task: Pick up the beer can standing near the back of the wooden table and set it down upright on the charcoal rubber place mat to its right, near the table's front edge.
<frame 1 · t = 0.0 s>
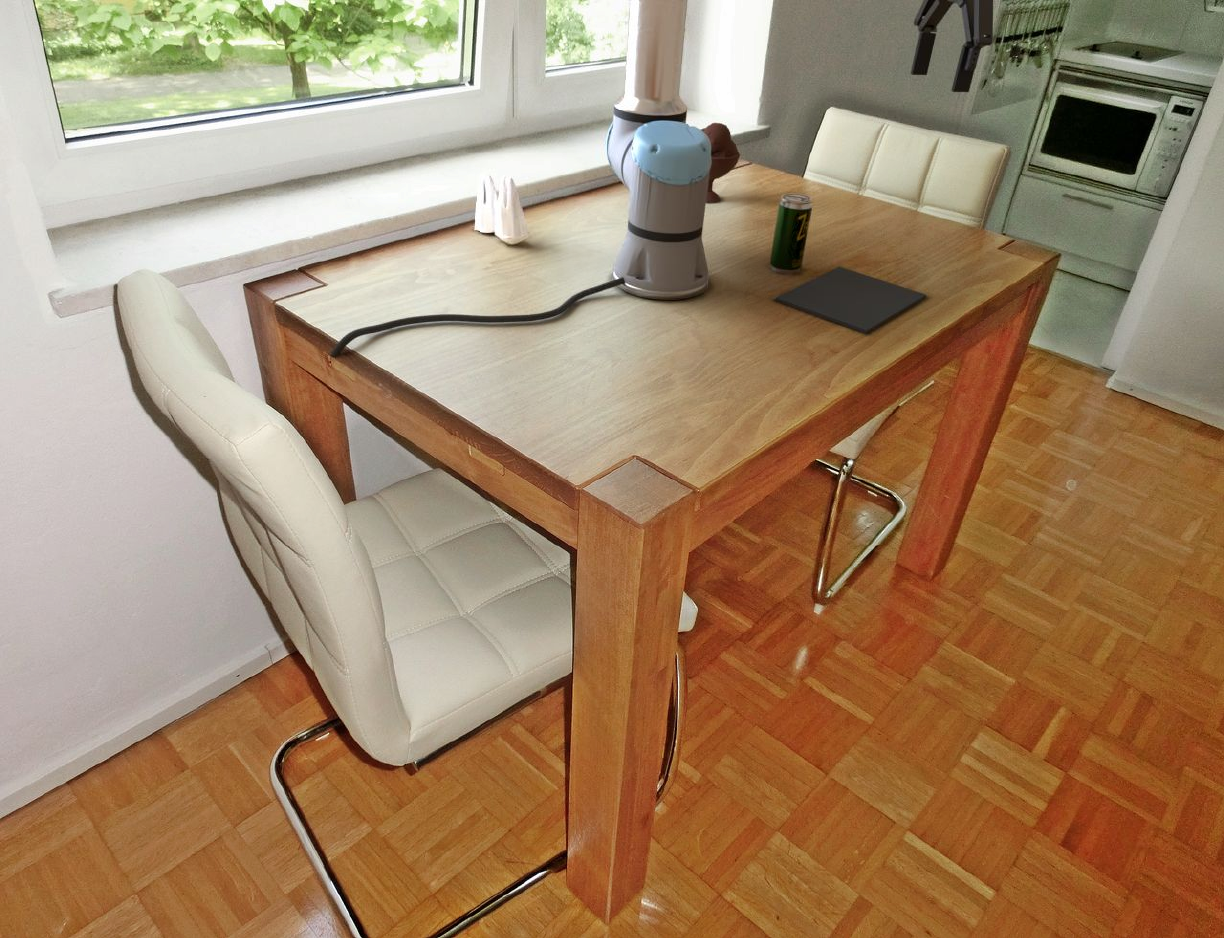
hand: (938, 83, 149), 28 cm above the table, tool pointing down, fingers open, 13 cm apart
shaker set: (501, 238, 157), on the table
place mat: (851, 299, 142), on the table
ice cream bowl: (706, 199, 182), on the table
beer can: (784, 269, 152), on the table
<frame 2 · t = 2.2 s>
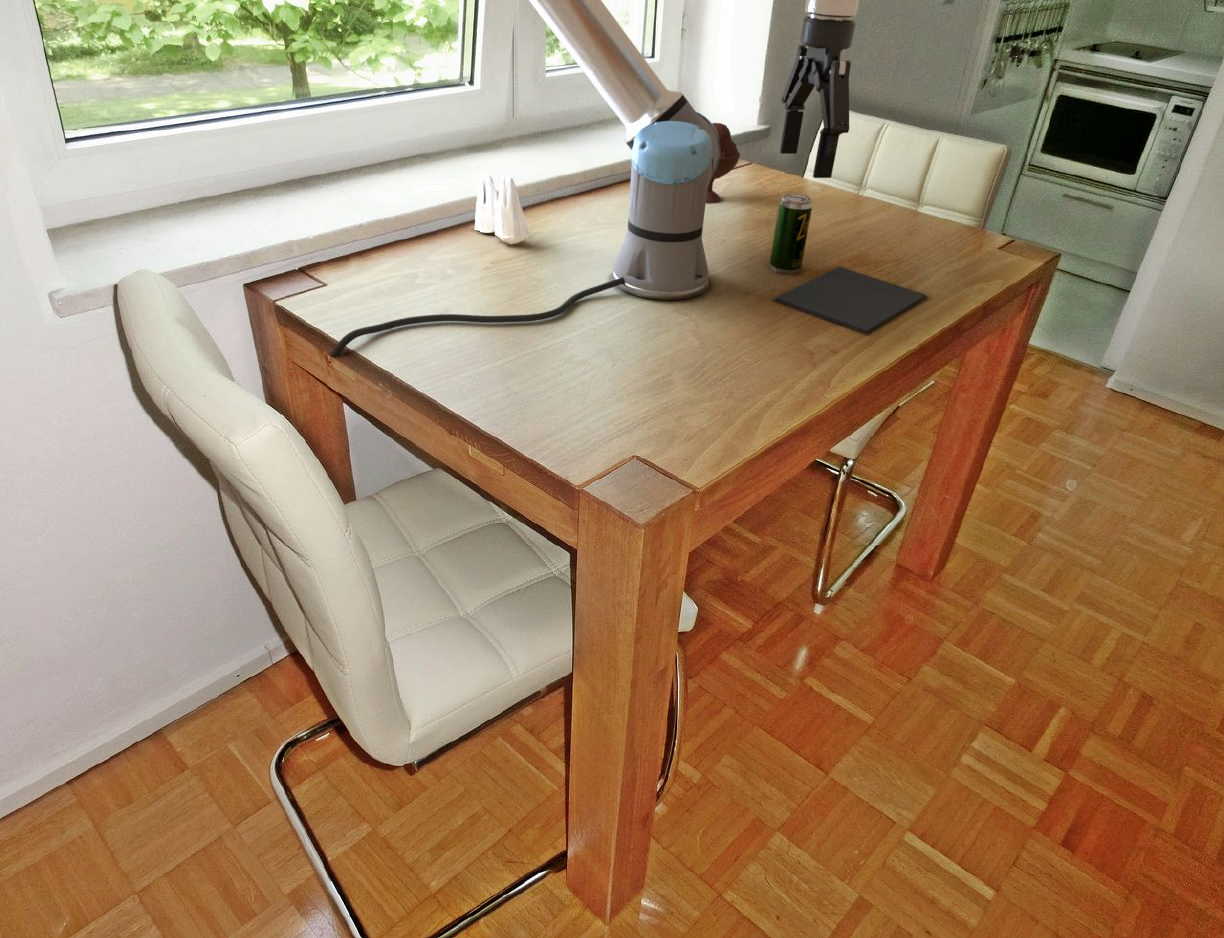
hand: (804, 165, 142), 17 cm above the table, tool pointing down, fingers open, 13 cm apart
nothing on the table moved.
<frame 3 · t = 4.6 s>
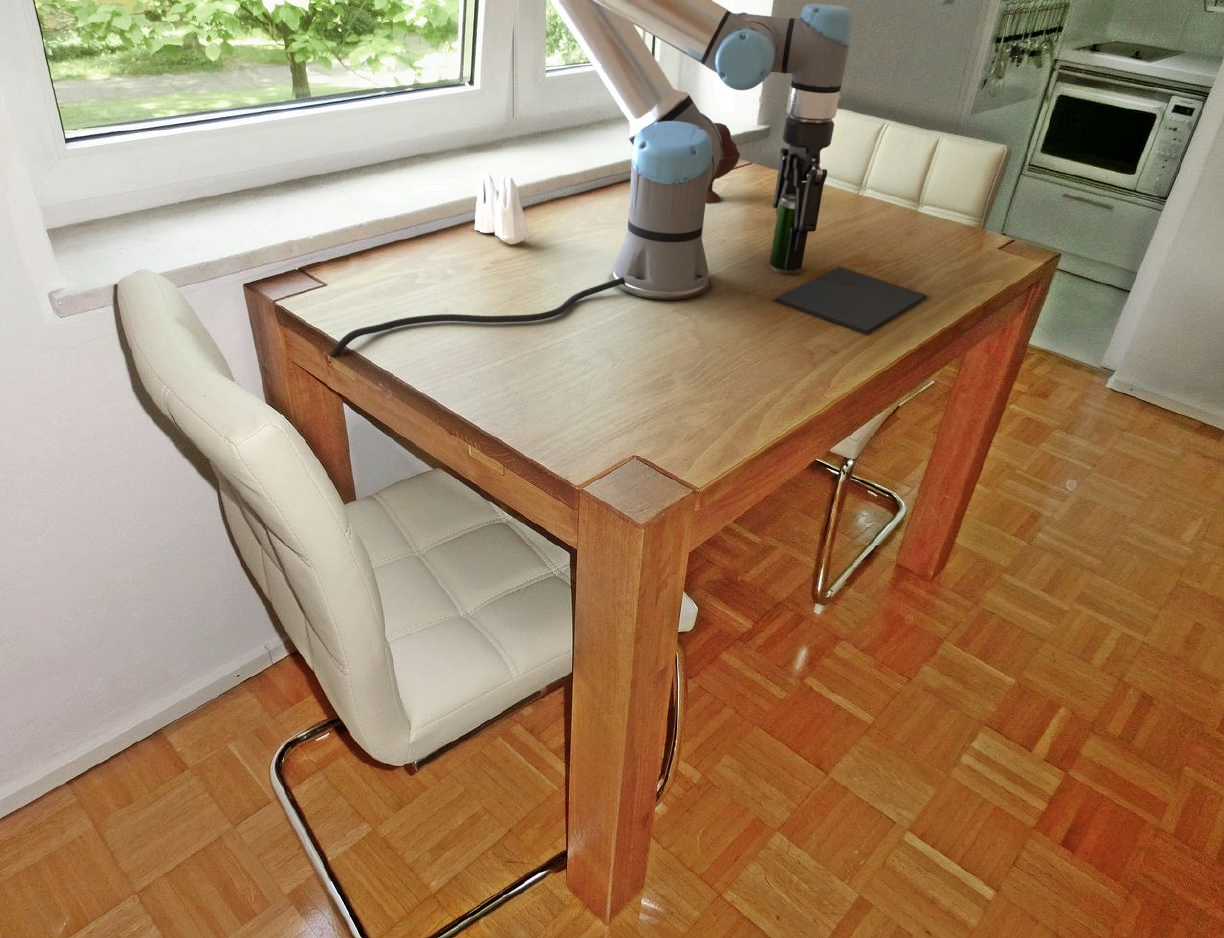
hand: (786, 261, 151), 1 cm above the table, tool pointing down, fingers closed on beer can, 5 cm apart
beer can: (784, 269, 152), on the table, touching gripper
everything else where it was.
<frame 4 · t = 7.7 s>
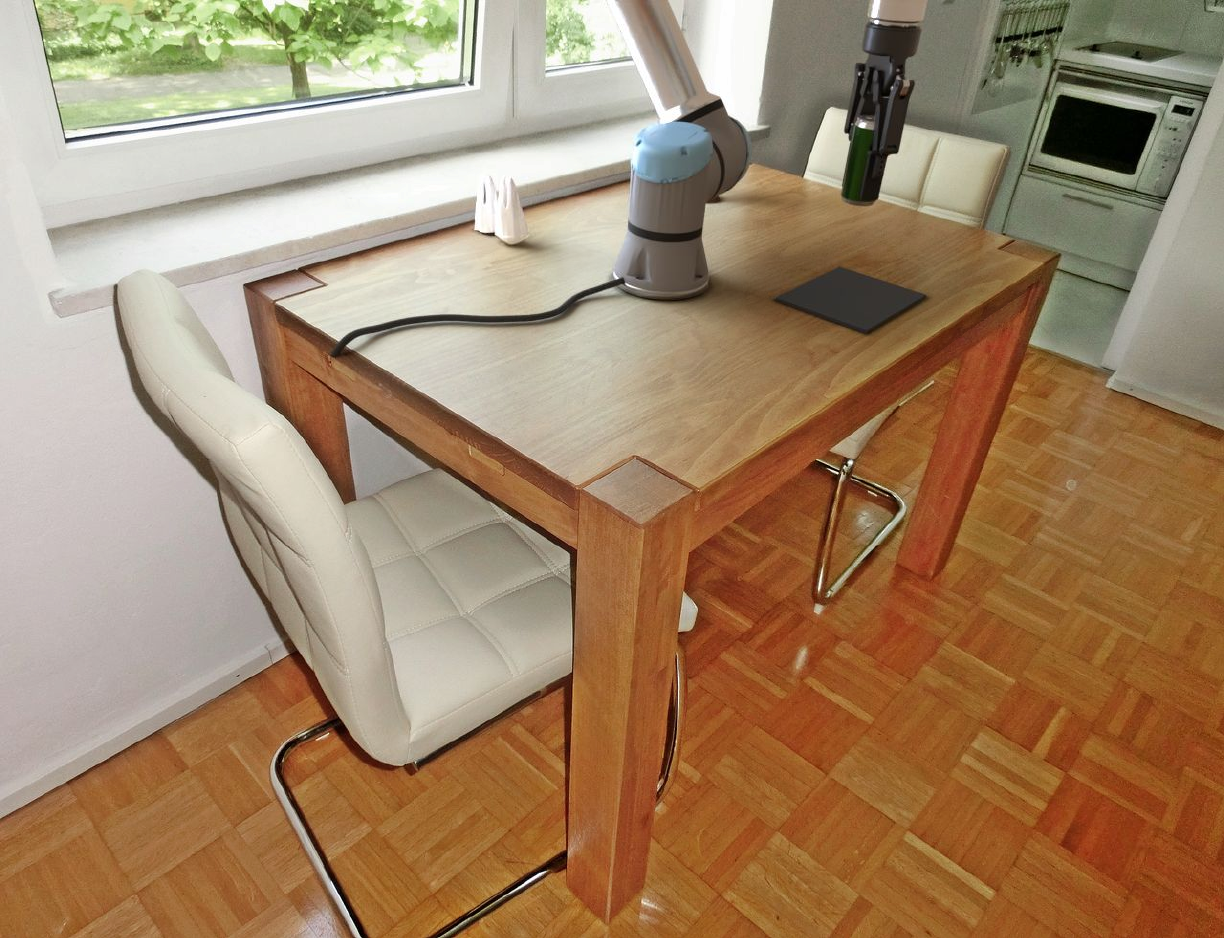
hand: (859, 192, 135), 16 cm above the table, tool pointing down, fingers closed on beer can, 5 cm apart
beer can: (857, 202, 136), point 15 cm above the table, touching gripper
everything else where it was.
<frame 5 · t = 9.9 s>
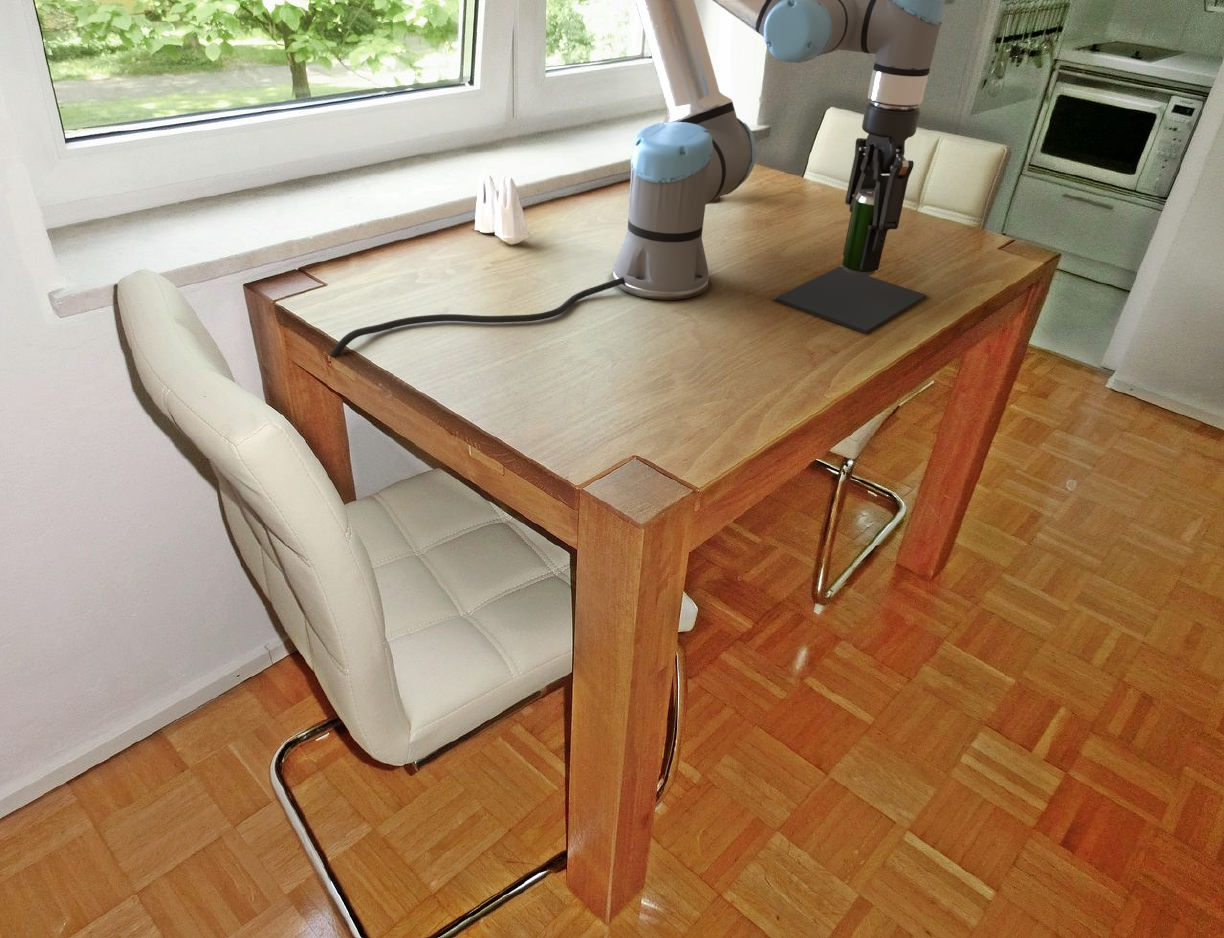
hand: (860, 262, 139), 6 cm above the table, tool pointing down, fingers closed on beer can, 5 cm apart
beer can: (858, 271, 139), point 5 cm above the table, touching gripper
everything else where it was.
when the fingers open (2 cm above the table, at t = 11.3 s): beer can stays where it is, resting on place mat.
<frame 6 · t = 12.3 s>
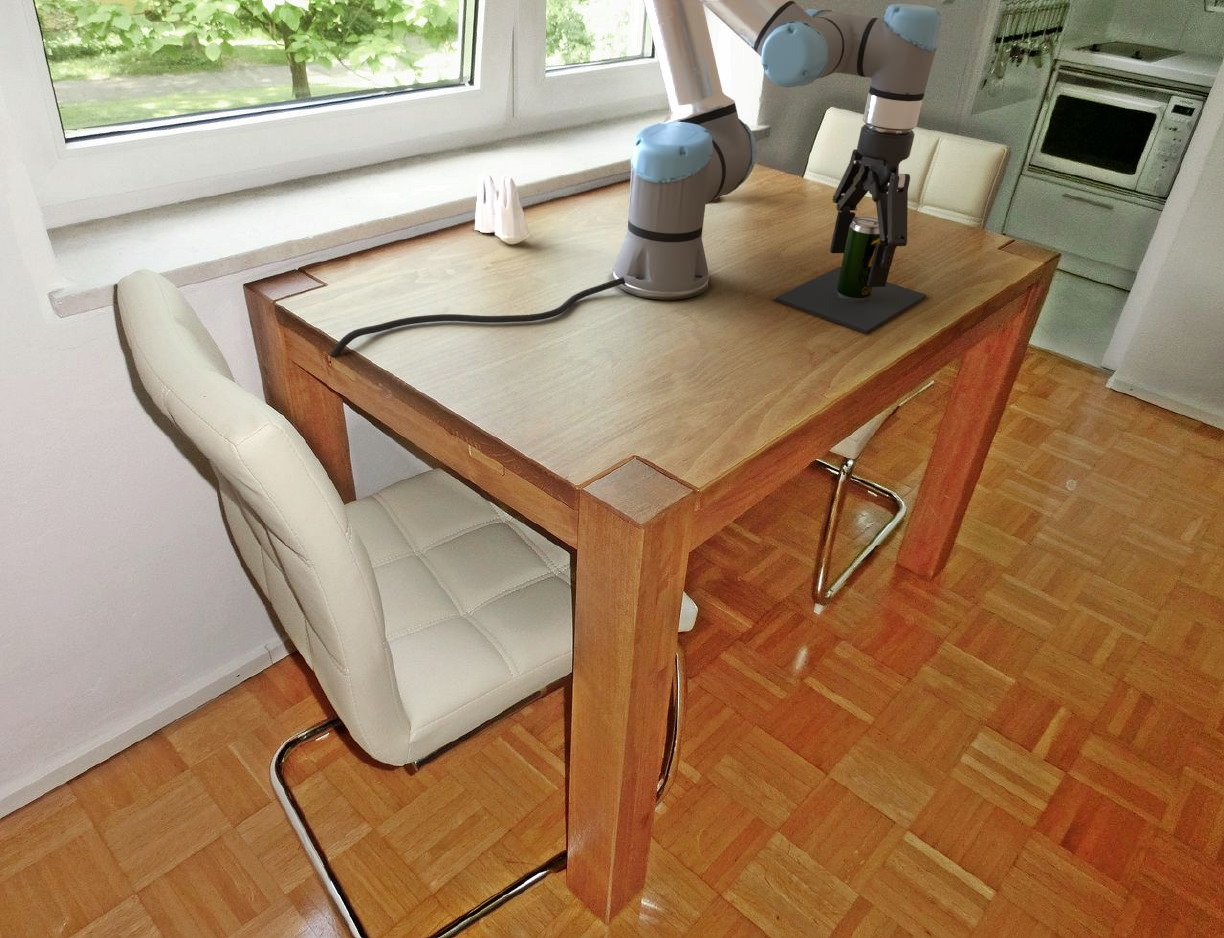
hand: (856, 268, 139), 5 cm above the table, tool pointing down, fingers open, 13 cm apart
beer can: (852, 297, 142), resting on place mat
everything else where it was.
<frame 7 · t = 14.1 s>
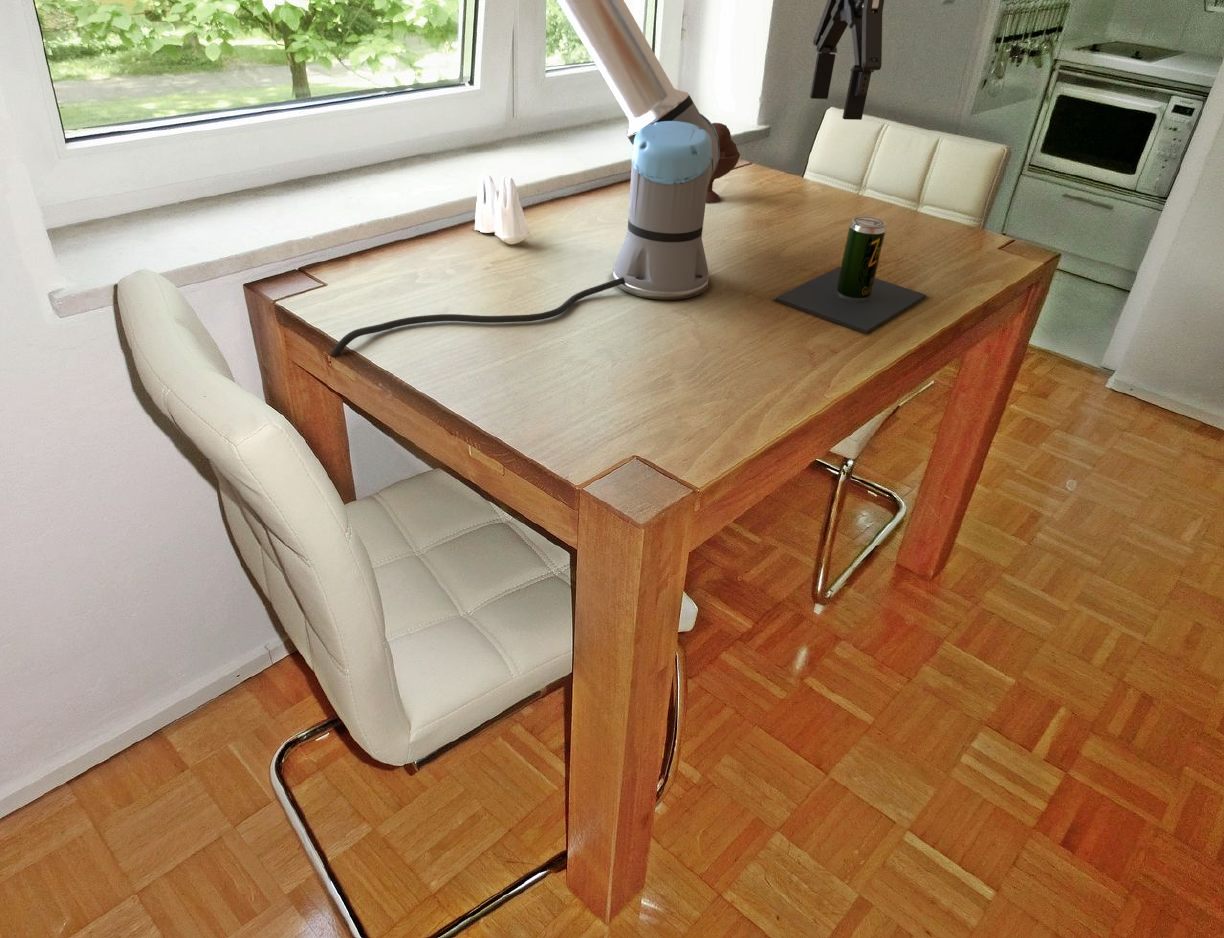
hand: (834, 108, 137), 26 cm above the table, tool pointing down, fingers open, 13 cm apart
nothing on the table moved.
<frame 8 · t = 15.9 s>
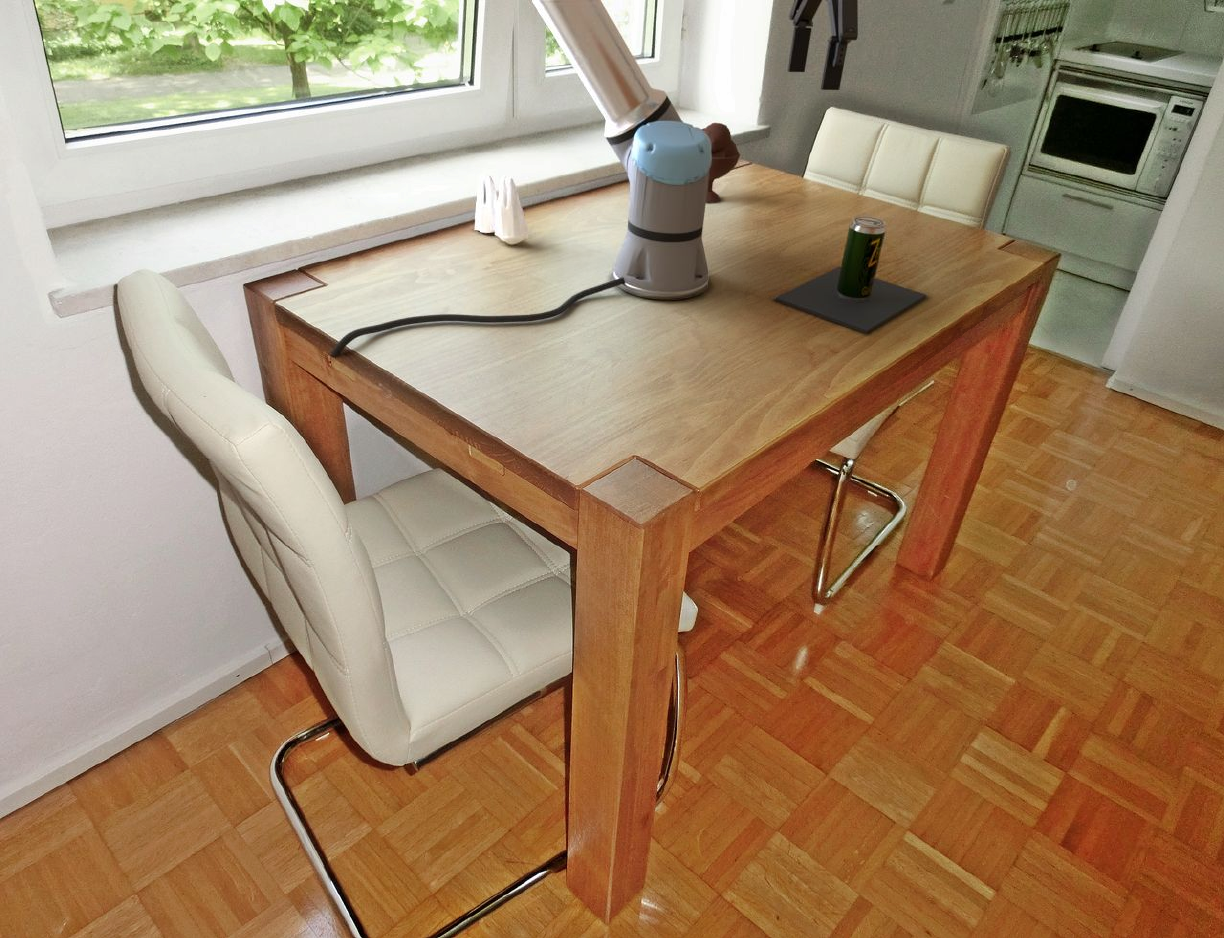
hand: (812, 80, 141), 29 cm above the table, tool pointing down, fingers open, 13 cm apart
nothing on the table moved.
at the end: beer can inside the target area on the place mat (0.1 cm from its centre), point 0.4 cm above the place mat's base; beer can tilted 0°; the gripper is holding nothing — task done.
